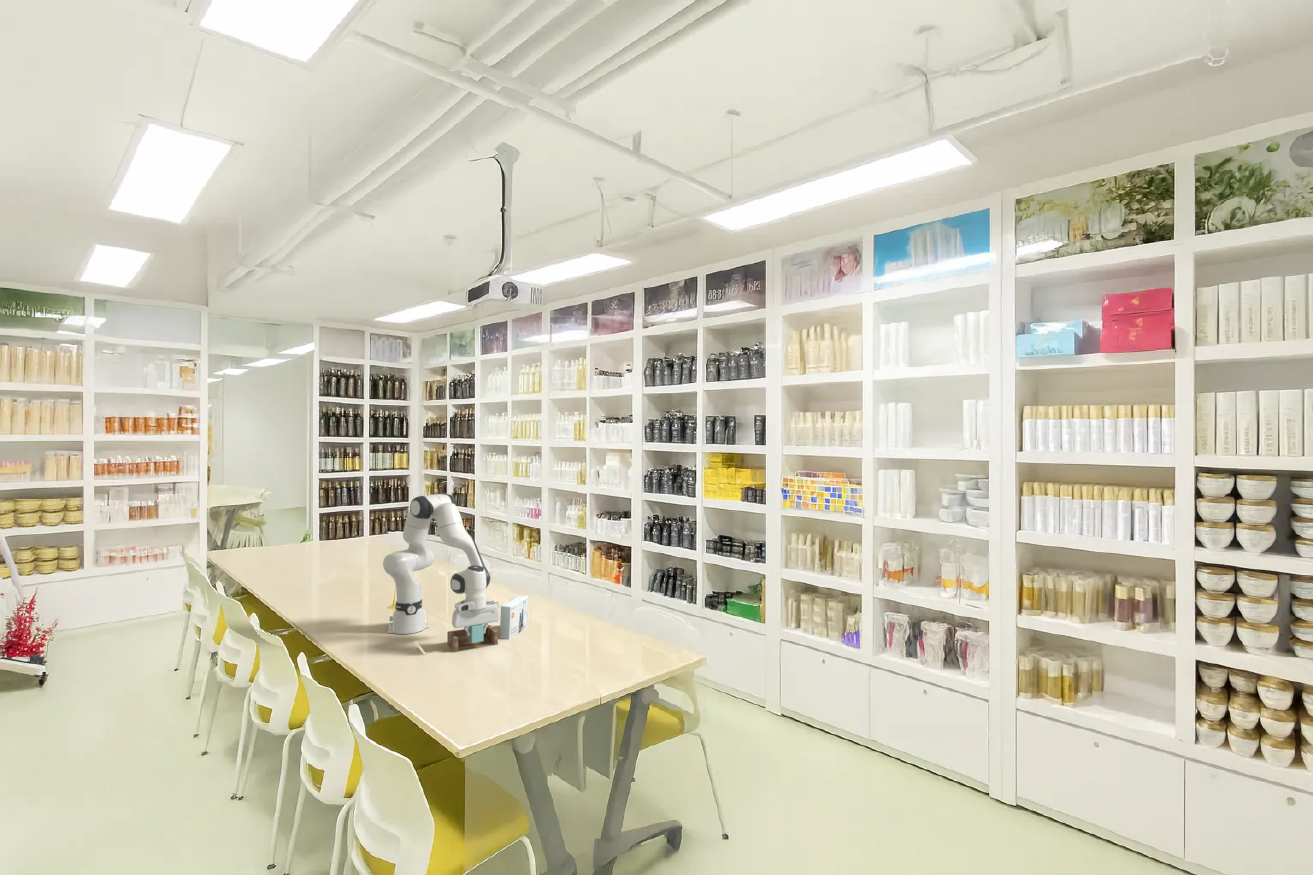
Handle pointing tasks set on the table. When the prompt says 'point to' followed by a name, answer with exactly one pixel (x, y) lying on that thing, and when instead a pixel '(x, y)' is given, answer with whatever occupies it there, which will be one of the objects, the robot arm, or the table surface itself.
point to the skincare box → (514, 617)
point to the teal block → (476, 633)
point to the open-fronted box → (461, 641)
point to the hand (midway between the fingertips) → (476, 634)
